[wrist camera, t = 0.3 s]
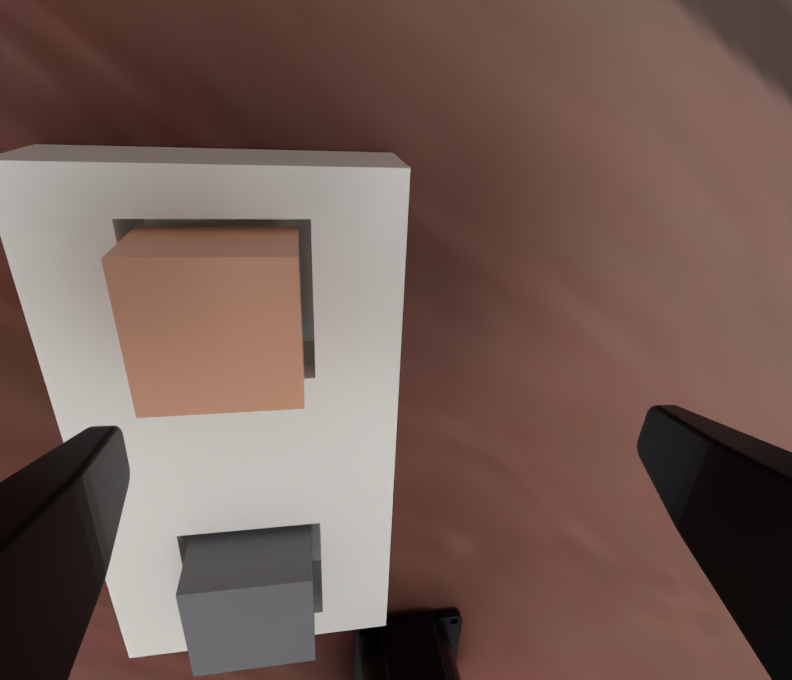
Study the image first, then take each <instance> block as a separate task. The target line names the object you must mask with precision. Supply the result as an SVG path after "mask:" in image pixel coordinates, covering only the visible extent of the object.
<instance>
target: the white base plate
mask: <svg viewBox="0 0 792 680" xmlns="http://www.w3.org/2000/svg"><path fill="white" fill-rule="evenodd" d="M410 170H411V168H410V167H409V166H408V165H406V164H405V163H404V162H403V161H402V160H401V159H400V158H398V157H397V156H396V155H395V154H394V153H390V152H348V151H306V150H264V149H222V148H180V147H138V146H96V145H53V144H33V145H29V146H26V147H22V148H18V149H15V150H11V151H8V152H4V153H0V237H1V240H2V243H3V246H4V250H5V253H6V256H7V259H8V263H9V266H10V269H11V273H12V276H13V279H14V282H15V286H16V289H17V292H18V295H19V299H20V302H21V305H22V309H23V312H24V315H25V318H26V322H27V325H28V328H29V331H30V335H31V338H32V341H33V345H34V348H35V351H36V354H37V358H38V361H39V364H40V367H41V371H42V374H43V377H44V380H45V384H46V387H47V390H48V394H49V397H50V400H51V403H52V407H53V410H54V413H55V416H56V420H57V423H58V426H59V430H60V433H61V436H62V439H63V443H64V442H66V441H67V440H69V439H70V438H72V437H74V436H75V435H77V434H78V433H80V432H82V431H83V430H85V429H86V428H88V427H91V426H112V425H115V426H118V427H119V428H120V429H121V431H122V433H123V437H124V442H125V447H126V452H127V457H128V462H129V467H130V480H129V486H128V490H127V494H126V498H125V502H124V506H123V510H122V515H121V519H120V523H119V527H118V531H117V535H116V539H115V543H114V547H113V551H112V556H111V560H110V563H109V567H108V571H107V574H106V577H105V580H106V583H107V586H108V590H109V593H110V596H111V600H112V603H113V606H114V609H115V613H116V616H117V619H118V622H119V626H120V629H121V632H122V636H123V639H124V642H125V645H126V649H127V652H128V655H129V658H134V657H142V656H150V655H158V654H166V653H174V652H182V651H188V650H187V645H186V641H185V636H184V632H183V627H182V623H181V618H180V614H179V609H178V605H177V600H176V592H177V588H178V583H179V579H180V575H181V571H182V566H183V562H184V558H185V554H186V550H187V545H188V541H189V537H190V535H196V534H207V533H217V532H228V531H239V530H250V529H261V528H272V527H283V526H294V525H304V524H311V540H312V564H313V588H314V621H315V635H316V634H324V633H332V632H340V631H348V630H356V629H363V628H371V627H379V626H386V617H387V599H388V580H389V561H390V543H391V524H392V505H393V487H394V468H395V450H396V431H397V412H398V394H399V375H400V356H401V338H402V319H403V300H404V282H405V263H406V244H407V226H408V207H409V188H410ZM135 226H298V231H299V255H300V279H301V302H302V326H303V350H304V401H305V409H290V410H272V411H254V412H237V413H219V414H201V415H183V416H165V417H147V418H136V415H135V410H134V406H133V401H132V397H131V392H130V388H129V383H128V379H127V374H126V370H125V365H124V361H123V356H122V352H121V347H120V342H119V338H118V333H117V329H116V324H115V320H114V315H113V311H112V306H111V302H110V297H109V293H108V288H107V284H106V279H105V275H104V270H103V266H102V261H101V258H102V257H103V256H104V255H105V254H106V253H107V252H108V251H109V250H111V249H112V248H113V247H114V246H115V245H116V244H117V243H118V242H119V241H120V240H121V239H122V238H123V237H124V236H125V235H126V234H127V233H129V232H130V231H131V230H132V229H133V228H134V227H135Z"/></svg>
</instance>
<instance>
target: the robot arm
mask: <svg viewBox="0 0 792 680" xmlns="http://www.w3.org/2000/svg"><path fill="white" fill-rule="evenodd" d="M637 451H638V454H639V457H640V459H641V461H642V463H643V465H644V467H645V469H646V471H647V473H648V475H649V477H650V479H651V480H652V482H653V484H654V486H655V488H656V490H657V492H658V494H659V496H660V498H661V500H662V502H663V504H664V506H665V508H666V510H667V512H668V514H669V516H670V518H671V520H672V521H673V523H674V525H675V527H676V529H677V530H678V532H679V534H680V535H681V537H682V539H683V540H684V542H685V543H686V545H687V547H688V548H689V550H690V551H691V553H692V554H693V556H694V558H695V559H696V561H697V562H698V564H699V566H700V567H701V569H702V570H703V572H704V573H705V575H706V577H707V578H708V580H709V581H710V583H711V584H712V586H713V588H714V589H715V591H716V592H717V594H718V595H719V597H720V599H721V600H722V602H723V603H724V605H725V607H726V608H727V610H728V611H729V613H730V614H731V616H732V618H733V619H734V621H735V622H736V624H737V625H738V627H739V629H740V630H741V632H742V633H743V635H744V636H745V638H746V640H747V641H748V643H749V644H750V646H751V647H752V649H753V651H754V652H755V654H756V655H757V657H758V659H759V660H760V662H761V663H762V665H763V666H764V668H765V670H766V671H767V673H768V674H769V676H770V677H771V679H772V680H792V452H789V451H787V450H784V449H782V448H780V447H777V446H775V445H772V444H770V443H767V442H765V441H762V440H760V439H757V438H755V437H752V436H750V435H748V434H745V433H743V432H740V431H738V430H735V429H733V428H730V427H728V426H725V425H723V424H720V423H718V422H716V421H713V420H711V419H708V418H706V417H703V416H701V415H698V414H696V413H693V412H691V411H688V410H686V409H684V408H681V407H679V406H676V405H655V406H653V407H651V408H650V409H649V410H648V412H647V414H646V417H645V420H644V423H643V426H642V429H641V432H640V435H639V438H638V442H637ZM129 480H130V467H129V462H128V457H127V452H126V447H125V442H124V437H123V433H122V431H121V429H120V428H119V427H118V426H115V425H112V426H91V427H88V428H86V429H85V430H83V431H82V432H80V433H78V434H77V435H75V436H74V437H72V438H70V439H69V440H67V441H66V442H64V443H62V444H61V445H59V446H58V447H56V448H54V449H53V450H51V451H50V452H48V453H46V454H45V455H43V456H42V457H40V458H38V459H37V460H35V461H34V462H32V463H30V464H29V465H27V466H26V467H24V468H22V469H21V470H19V471H18V472H16V473H14V474H13V475H11V476H10V477H8V478H6V479H5V480H3V481H2V482H0V680H68V678H69V675H70V672H71V669H72V667H73V664H74V661H75V659H76V656H77V653H78V651H79V648H80V645H81V643H82V640H83V637H84V635H85V632H86V629H87V627H88V624H89V621H90V619H91V616H92V613H93V611H94V608H95V605H96V603H97V600H98V597H99V595H100V592H101V589H102V586H103V583H104V580H105V577H106V574H107V571H108V567H109V563H110V560H111V556H112V551H113V547H114V543H115V539H116V535H117V531H118V527H119V523H120V519H121V515H122V510H123V506H124V502H125V498H126V494H127V490H128V486H129ZM461 624H462V618H461V614H460V612H459V611H457V610H450V611H442V612H434V613H426V614H418V615H410V616H402V617H394V618H386V626H379V627H371V628H363V629H356V630H354V680H461V679H460V675H459V671H458V667H457V663H456V656H457V650H458V643H459V637H460V630H461Z"/></svg>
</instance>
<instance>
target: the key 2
mask: <svg viewBox="0 0 792 680" xmlns="http://www.w3.org/2000/svg"><path fill="white" fill-rule="evenodd" d="M176 600H177V605H178V609H179V614H180V618H181V623H182V627H183V632H184V636H185V641H186V645H187V650H188V654H189V659H190V663H191V668H192V672H193V677H194V676H202V675H209V674H216V673H224V672H231V671H239V670H246V669H254V668H261V667H269V666H276V665H283V664H291V663H298V662H306V661H313V660H316V658H315V621H314V588H313V564H312V540H311V524H304V525H294V526H283V527H272V528H261V529H250V530H239V531H228V532H217V533H207V534H196V535H190V537H189V541H188V545H187V550H186V554H185V558H184V562H183V566H182V571H181V575H180V579H179V583H178V588H177V592H176Z"/></svg>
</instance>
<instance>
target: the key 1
mask: <svg viewBox="0 0 792 680" xmlns="http://www.w3.org/2000/svg"><path fill="white" fill-rule="evenodd" d="M101 261H102V266H103V270H104V275H105V279H106V284H107V288H108V293H109V297H110V302H111V306H112V311H113V315H114V320H115V324H116V329H117V333H118V338H119V342H120V347H121V352H122V356H123V361H124V365H125V370H126V374H127V379H128V383H129V388H130V392H131V397H132V401H133V406H134V410H135V415H136V418H147V417H165V416H183V415H201V414H219V413H237V412H254V411H272V410H290V409H305V401H304V350H303V326H302V302H301V279H300V255H299V231H298V226H135V227H134V228H133V229H132V230H131V231H130V232H129V233H127V234H126V235H125V236H124V237H123V238H122V239H121V240H120V241H119V242H118V243H117V244H116V245H115V246H114V247H113V248H112V249H111V250H109V251H108V252H107V253H106V254H105V255H104V256H103V257H102V258H101Z"/></svg>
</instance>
